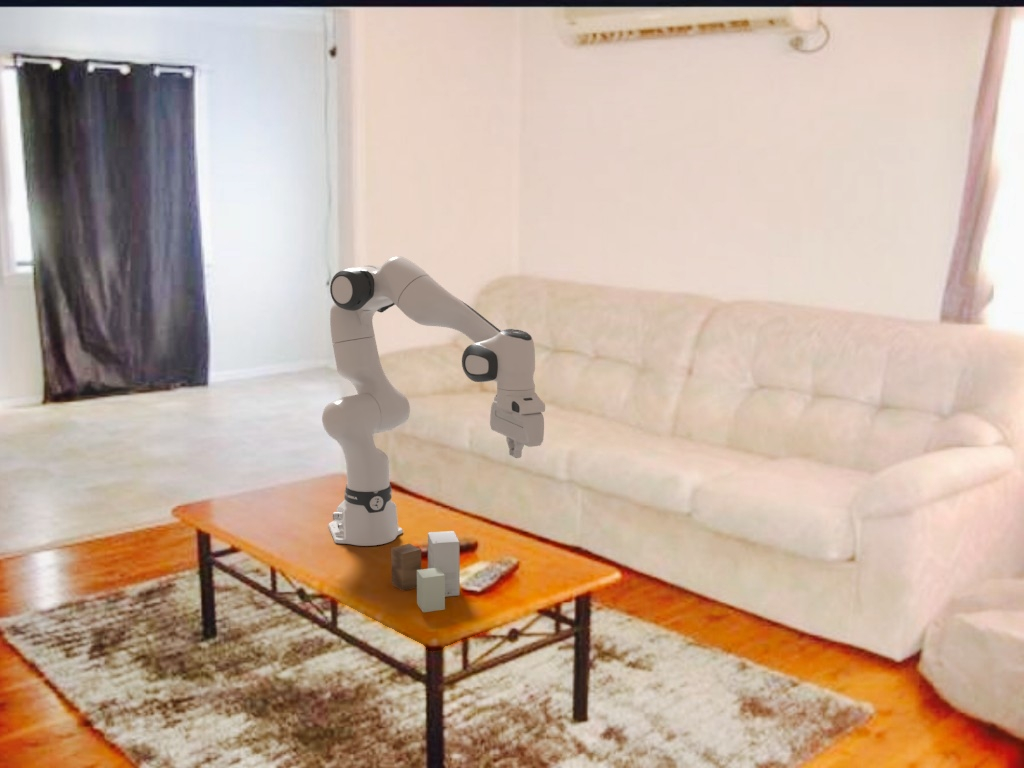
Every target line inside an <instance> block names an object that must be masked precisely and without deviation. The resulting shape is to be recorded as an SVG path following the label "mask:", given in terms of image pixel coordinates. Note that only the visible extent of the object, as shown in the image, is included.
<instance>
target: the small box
mask: <svg viewBox="0 0 1024 768" xmlns="http://www.w3.org/2000/svg"><path fill="white" fill-rule="evenodd" d="M460 544H461V543H460V540H459V538H458V536H457V534H456V532H455V531H454V530H446V531H430V532H429V531H428V533H427V569H429V568H437V567H438V568H439V569H440V570H441V571H442V572H443V574H444V575H445V598H446V597H456V596H460V593H461V592H460V591H461V590H460V585H461V584H460V583H461V582H460V575H461V574H460V563H461V562H460V551H461V550H460Z"/></svg>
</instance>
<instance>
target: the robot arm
mask: <svg viewBox="0 0 1024 768" xmlns="http://www.w3.org/2000/svg"><path fill="white" fill-rule="evenodd" d="M330 281H331V282H330V284H329V285H330V286H329V293H330V297H331V299H332V301H333V302H334V303H333V304H332V306H331V307H330V315H329V316H330V318H329V320H330V334H331V335H330V336H331V337H330V338H331V342H332V347H333V348H332V349H333V354H334V358H335V366H336V369H337V372H338V374H339V376H341V378H343V379H346V380H347V381H350V383H351V384H352V385H353V386H354V388H355V390H356V392H357V394H352V395H348V396H347V395H346V396H342V397H340V398H338V399H336V400H333V401H332V402H330V403H328V404H326V406H325V407H324V409H323V412H322V417H321V418H322V419H321V420H322V426H323V428H324V431H325V432H326V434H327V435H328V436H329V437H330V438H332V439H333V440H335V441H336V442H337V443H338V445H339V446H340V447H341V449H342V452H343V455H344V459H345V468H346V485H345V490H344V499H343V501H341V503H339V505H338V506H336V511H333V512H332V521H331V522H328V529H329V533H330V534H331V536H332V539H333V541H334V543H335V544H344V545H345V544H347V545H353V546H361V547H364V546H365V547H368V546H369V547H370V546H377V545H378V546H379V545H383V544H384V545H385V544H388V543H390V542H393V541H394V540H396V538H397V537H398V536H399V535H402V534H403V533H404V530H403V528H402V527H400V526H399V523H398V522H399V521H398V511H397V510H398V509H397V504H396V503H395V502H394V501H392V493H393V491H392V485H391V484H390V458H389V456H388V454H387V453H386V452H384V451H383V450H382V449H380V448H378V447H377V446H376V444H375V440H374V436H375V435H377V434H380V433H385V432H389V431H393V430H394V429H396V428H399V427H400V426H401V425H404V424H405V423H406V422H407V421H408V420H409V417H410V411H411V407H410V403H409V400H408V398H407V396H406V395H405V394H404V393H403V392H402V391H400V390H398V389H397V388H396V386H394V385H393V384H392V383H391V381H390V380H389V378H388V377H387V375H386V373H385V371H384V369H383V367H382V364H381V358H380V355H379V349H378V345H377V341H376V336H375V329H374V325H373V320H374V319H373V318H374V315H375V313H376V312H378V313H384V312H386V311H387V310H388V309H390V308H391V307H394V306H395V307H397V308H398V309H399V310H400V311H401V312H402V313H403V314H404V315H405V316H406V317H408V318H409V319H410V320H412V321H413V322H415V323H417V324H419V325H420V326H426V327H427V326H430V327H439V328H440V327H441V328H446V329H452V330H454V331H458V332H460V333H461V334H464V335H465V336H466V337H467V338H468V339H470V341H472V342H474V343H472V344H470V345H467V347H466V348H465V349H464V351H463V353H462V357H461V367H462V369H463V372H464V374H465V376H466V377H467V378H468V379H470V380H471V381H472V382H475V383H487V382H492V381H493V382H495V383H496V395H495V396H494V398H493V399H494V401H492V403H491V407H490V417H489V426H490V429H491V431H494V432H496V433H497V434H500V435H503V437H506V439H505V440H506V443H507V446H508V454H509V456H510V457H512V458H515V459H521V458H522V453H523V452H522V450H523V449H524V446H526V447H528V448H533V447H538V446H540V447H541V445H542V443H543V442H544V435H545V417H544V414H543V413H545V411H546V404H545V402H544V401H543V400H542V399H541V398H540V397H539V395H538V394H537V393H536V389H535V388H536V385H535V382H534V381H535V380H534V374H535V370H536V350H535V343H534V340H533V337H532V336H531V334H529V333H528V332H526V331H524V330H521V329H514V328H506V329H502V330H501V329H499V328H497V326H495V325H494V324H493V323H492V322H490V321H489V320H488V319H487V318H485V317H484V316H483V315H481V314H480V313H479V312H477V311H476V310H475V309H474V308H472V307H471V306H469V304H467V303H466V302H464V301H463V300H461V299H459V298H458V297H457V296H455V295H453V294H452V293H450V292H449V290H447V289H445V288H444V287H443V286H441V285H440V284H439V282H437V281H436V280H435V279H434V278H433V277H431V275H430V274H428V273H427V272H426V271H425V270H424V269H422V268H421V267H420V266H419V265H417V264H416V263H414V262H413V261H412V260H410V259H408V258H406V257H404V256H399V255H398V256H394V257H390V258H389V259H388V260H386V261H385V262H383V264H382V265H364V266H359V267H348V268H344V269H342V270H339V271H338V272H336V273H335V275H333V276H332V278H331V280H330Z"/></svg>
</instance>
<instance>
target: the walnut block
mask: <svg viewBox="0 0 1024 768" xmlns="http://www.w3.org/2000/svg"><path fill="white" fill-rule="evenodd" d="M390 552H391V556H390V557H391V560H390V561H391V564H390V565H391V585H392V586H393V587H396V588H397V589H398V590H401V591H402V592H404V591H408V590H412V589H415V588H416V589H417V570H421V569H422V549H421V548H419V547H418V546H415V545H413V544H412V543H406V544H402V545H397V546H393V547H391V548H390Z"/></svg>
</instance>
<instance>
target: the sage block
mask: <svg viewBox="0 0 1024 768" xmlns="http://www.w3.org/2000/svg"><path fill="white" fill-rule="evenodd" d="M416 605H418V608H419V609H420V610H421V611H422V613H429V612H430V613H431V612H434V611H442V610H446V597H445V575H444V574H443V572H442V571H441V570H440V569H439V568H438V567H437V568H429V569H428V568H424V569H422V568H421V570H417V587H416Z"/></svg>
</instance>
